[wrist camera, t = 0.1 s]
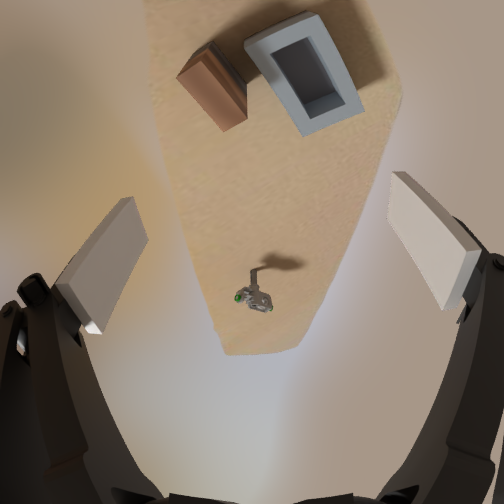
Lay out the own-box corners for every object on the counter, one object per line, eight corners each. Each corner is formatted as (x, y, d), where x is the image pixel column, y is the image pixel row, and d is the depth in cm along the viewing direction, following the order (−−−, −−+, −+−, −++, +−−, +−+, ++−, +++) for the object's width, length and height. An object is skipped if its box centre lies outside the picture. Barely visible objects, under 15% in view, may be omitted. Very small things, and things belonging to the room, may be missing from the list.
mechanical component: (240, 261, 67) (240, 299, 61) (272, 274, 72) (275, 309, 67) (233, 266, 69) (232, 303, 63) (265, 278, 74) (267, 313, 68)
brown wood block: (228, 94, 34) (223, 132, 28) (193, 53, 28) (175, 78, 22) (246, 84, 33) (247, 118, 26) (212, 40, 27) (200, 60, 21)
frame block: (295, 116, 37) (302, 137, 34) (244, 39, 27) (243, 48, 24) (350, 93, 33) (365, 111, 30) (306, 10, 24) (318, 14, 20)
